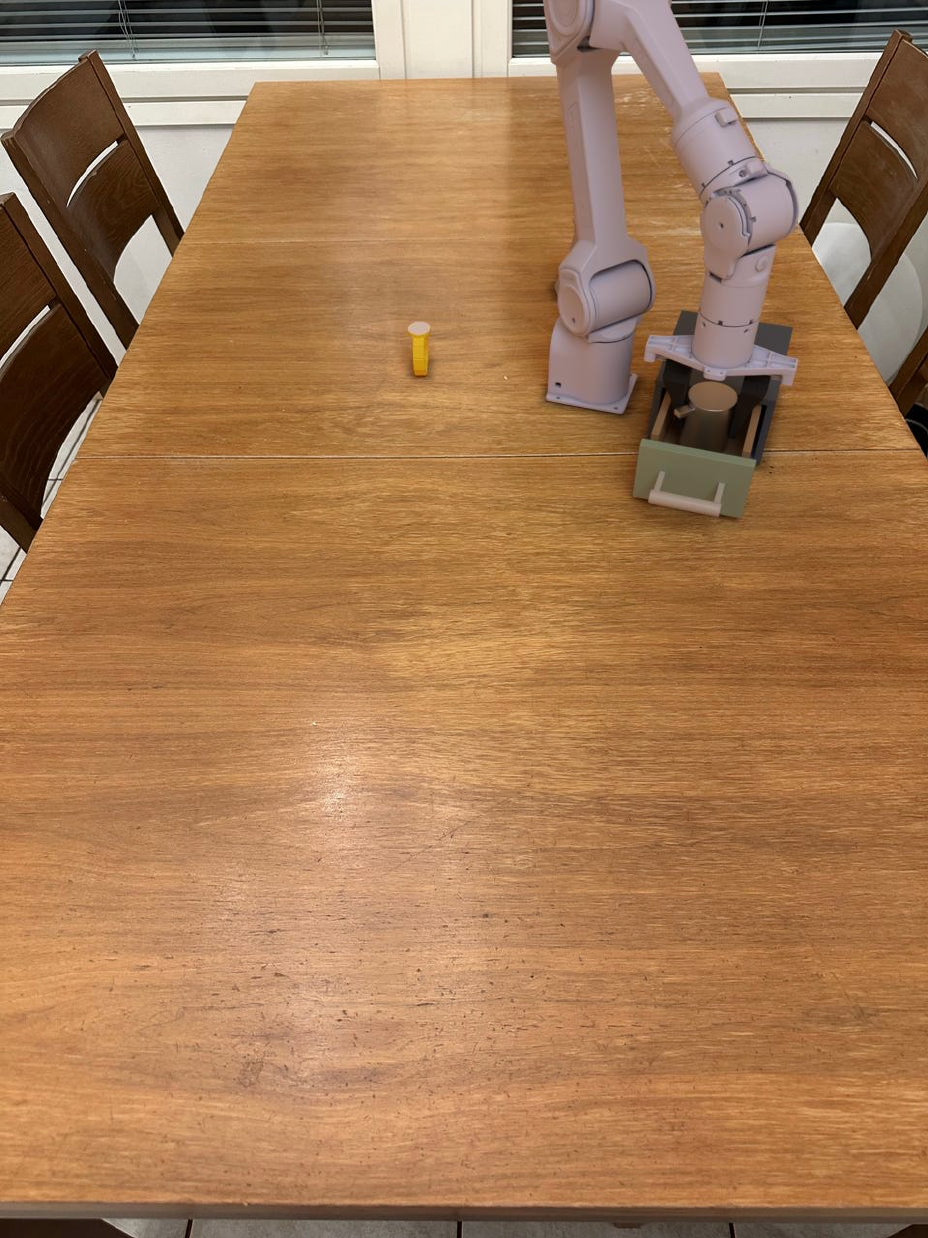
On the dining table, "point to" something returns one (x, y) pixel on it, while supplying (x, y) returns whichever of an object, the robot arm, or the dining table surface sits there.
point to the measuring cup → (707, 416)
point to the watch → (420, 346)
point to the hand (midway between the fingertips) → (705, 427)
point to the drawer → (695, 469)
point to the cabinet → (767, 338)
